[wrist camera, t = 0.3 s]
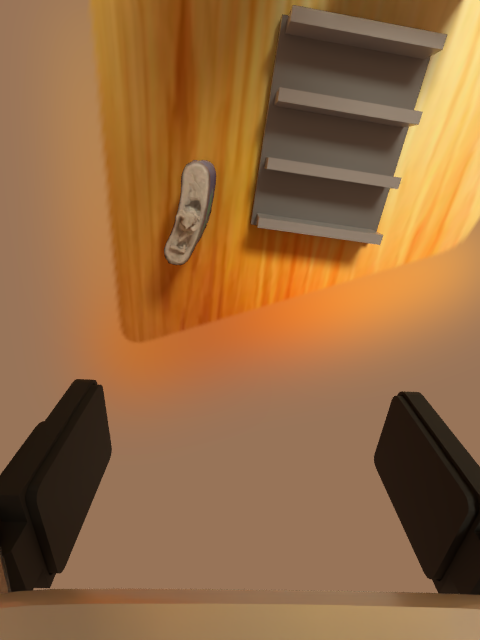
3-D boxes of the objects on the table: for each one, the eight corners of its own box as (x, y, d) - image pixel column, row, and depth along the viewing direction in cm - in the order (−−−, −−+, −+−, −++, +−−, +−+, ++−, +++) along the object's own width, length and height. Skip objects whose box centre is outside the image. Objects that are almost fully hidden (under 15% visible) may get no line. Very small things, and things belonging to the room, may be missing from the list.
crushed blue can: (196, 156, 35) (182, 156, 25) (223, 166, 35) (219, 169, 26) (175, 241, 39) (156, 269, 29) (200, 249, 39) (189, 279, 29)
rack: (281, 18, 30) (287, -1, 27) (428, 46, 31) (454, 31, 28) (250, 222, 38) (252, 229, 34) (370, 239, 39) (384, 247, 35)
